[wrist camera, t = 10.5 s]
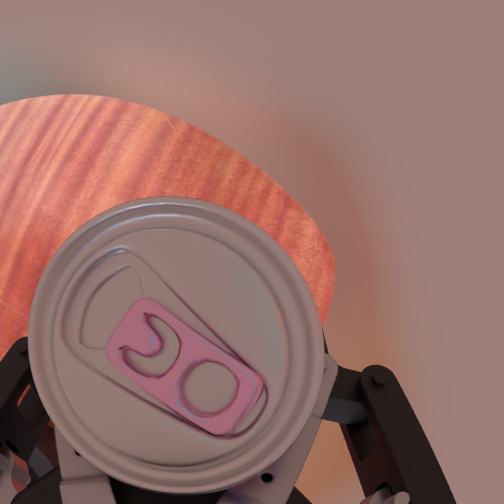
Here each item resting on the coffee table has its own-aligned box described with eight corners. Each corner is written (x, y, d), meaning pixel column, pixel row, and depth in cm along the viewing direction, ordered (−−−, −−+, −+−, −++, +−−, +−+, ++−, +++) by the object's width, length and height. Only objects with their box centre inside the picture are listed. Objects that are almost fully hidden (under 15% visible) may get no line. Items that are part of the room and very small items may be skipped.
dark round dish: (110, 514, 24) (95, 535, 18) (29, 506, 22) (11, 521, 16) (60, 409, 27) (35, 420, 21) (-13, 414, 25) (-37, 421, 19)
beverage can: (227, 396, 18) (211, 546, 4) (152, 342, 19) (-15, 362, 4) (279, 322, 20) (395, 306, 5) (204, 270, 20) (136, 135, 6)
